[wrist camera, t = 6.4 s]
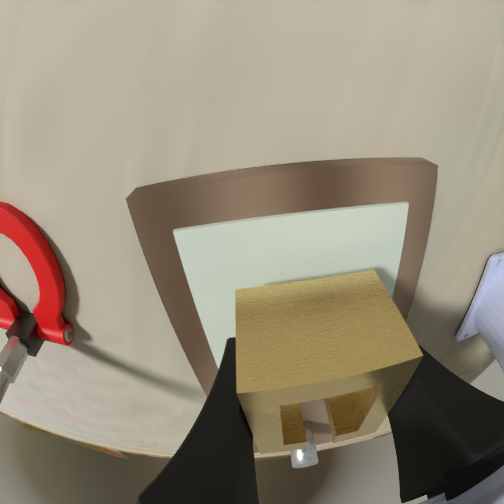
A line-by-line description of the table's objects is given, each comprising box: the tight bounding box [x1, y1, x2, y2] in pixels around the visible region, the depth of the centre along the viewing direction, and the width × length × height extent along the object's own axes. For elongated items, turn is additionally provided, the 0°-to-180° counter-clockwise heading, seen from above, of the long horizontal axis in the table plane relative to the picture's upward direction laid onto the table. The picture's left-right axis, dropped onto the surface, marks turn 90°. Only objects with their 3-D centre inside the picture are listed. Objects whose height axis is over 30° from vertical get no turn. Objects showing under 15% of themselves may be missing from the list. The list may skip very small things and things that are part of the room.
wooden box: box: [235, 270, 423, 454], centre depth 9 cm, size 5×6×4 cm
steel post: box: [290, 420, 318, 468], centre depth 18 cm, size 2×2×4 cm
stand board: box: [126, 158, 438, 453], centre depth 17 cm, size 12×27×1 cm, turn 7°
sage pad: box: [173, 202, 409, 369], centre depth 12 cm, size 9×9×1 cm
